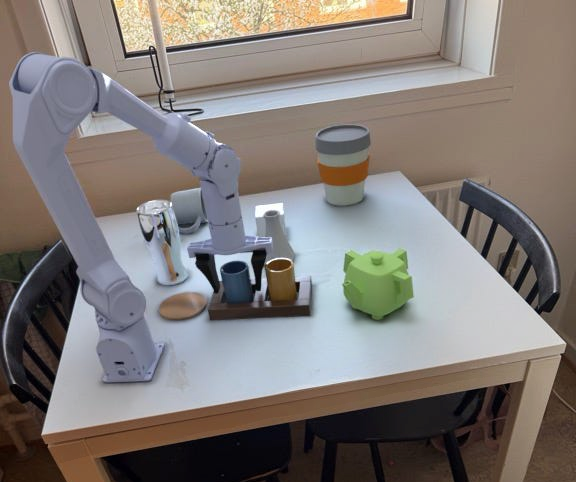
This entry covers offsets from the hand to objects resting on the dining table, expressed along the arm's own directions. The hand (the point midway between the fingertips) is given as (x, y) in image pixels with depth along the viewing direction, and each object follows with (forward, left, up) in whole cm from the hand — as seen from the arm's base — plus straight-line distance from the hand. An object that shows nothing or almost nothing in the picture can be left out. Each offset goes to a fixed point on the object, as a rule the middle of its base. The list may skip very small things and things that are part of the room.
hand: (238, 289), depth 99 cm
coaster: (0, +11, -3) cm, 11 cm away
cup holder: (0, -4, -3) cm, 5 cm away
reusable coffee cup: (+45, -19, -3) cm, 49 cm away
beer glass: (+11, +16, -3) cm, 19 cm away
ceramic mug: (+36, +17, -3) cm, 40 cm away
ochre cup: (0, -8, -3) cm, 9 cm away
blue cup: (0, 0, -3) cm, 3 cm away
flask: (+16, -5, -3) cm, 17 cm away
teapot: (-3, -24, -3) cm, 25 cm away
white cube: (+27, -3, -3) cm, 27 cm away
